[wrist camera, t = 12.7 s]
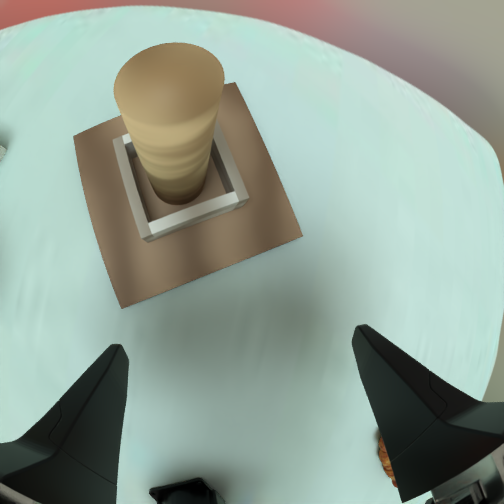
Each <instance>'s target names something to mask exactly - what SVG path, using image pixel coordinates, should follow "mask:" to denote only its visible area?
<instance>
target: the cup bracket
mask: <svg viewBox="0 0 504 504" xmlns="http://www.w3.org/2000/svg"><path fill="white" fill-rule="evenodd" d="M73 138H74V144H75V150H76V156H77V161H78V167H79V172H80V177H81V181H82V186H83V190H84V194H85V199H86V203H87V207H88V211H89V214H90V218H91V222H92V225H93V229H94V232H95V236H96V239H97V242H98V245H99V248H100V252H101V255H102V258H103V261H104V264H105V267H106V269H107V272H108V275H109V278H110V281H111V283H112V286H113V289H114V291H115V294H116V296H117V299H118V301H119V304H120V306H121V309H123V308H125V307H128V306H130V305H133V304H135V303H138V302H140V301H143V300H145V299H148V298H150V297H153V296H155V295H158V294H160V293H163V292H165V291H168V290H170V289H173V288H175V287H178V286H180V285H183V284H185V283H188V282H190V281H193V280H195V279H198V278H200V277H203V276H205V275H208V274H210V273H213V272H215V271H218V270H220V269H223V268H225V267H228V266H230V265H233V264H235V263H238V262H240V261H243V260H245V259H248V258H250V257H252V256H255V255H257V254H260V253H262V252H265V251H267V250H270V249H272V248H275V247H277V246H280V245H282V244H285V243H287V242H290V241H292V240H294V239H297V238H299V237H302V236H303V235H302V232H301V230H300V227H299V224H298V222H297V219H296V217H295V214H294V212H293V210H292V207H291V205H290V202H289V200H288V197H287V195H286V193H285V190H284V188H283V185H282V183H281V181H280V178H279V176H278V174H277V171H276V169H275V167H274V164H273V162H272V160H271V157H270V155H269V153H268V151H267V148H266V146H265V144H264V142H263V140H262V137H261V135H260V133H259V131H258V129H257V126H256V124H255V122H254V120H253V118H252V116H251V114H250V111H249V109H248V107H247V105H246V103H245V101H244V99H243V97H242V95H241V93H240V91H239V89H238V87H237V85H236V83H235V82H234V83H229V84H224V86H223V91H222V95H221V100H220V105H219V109H218V114H217V119H216V124H215V129H214V135H213V140H212V145H211V151H210V156H209V162H208V168H207V174H206V180H205V185H204V188H203V190H202V192H201V194H200V195H199V196H198V197H197V198H196V199H195V200H193V201H192V202H190V203H188V204H185V205H178V206H177V205H170V204H167V203H165V202H163V201H162V200H160V199H159V198H158V197H157V196H156V194H155V192H154V190H153V188H152V186H151V184H150V181H149V179H148V177H147V175H146V173H145V170H144V168H143V166H142V164H141V161H140V159H139V157H138V154H137V152H136V150H135V147H134V145H133V143H132V140H131V138H130V135H129V133H128V130H127V128H126V126H125V123H124V121H123V118H122V116H121V115H120V116H118V117H115V118H113V119H111V120H108V121H106V122H103V123H101V124H99V125H96V126H94V127H92V128H90V129H88V130H85V131H83V132H81V133H79V134H77V135H75V136H73Z"/></svg>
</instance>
